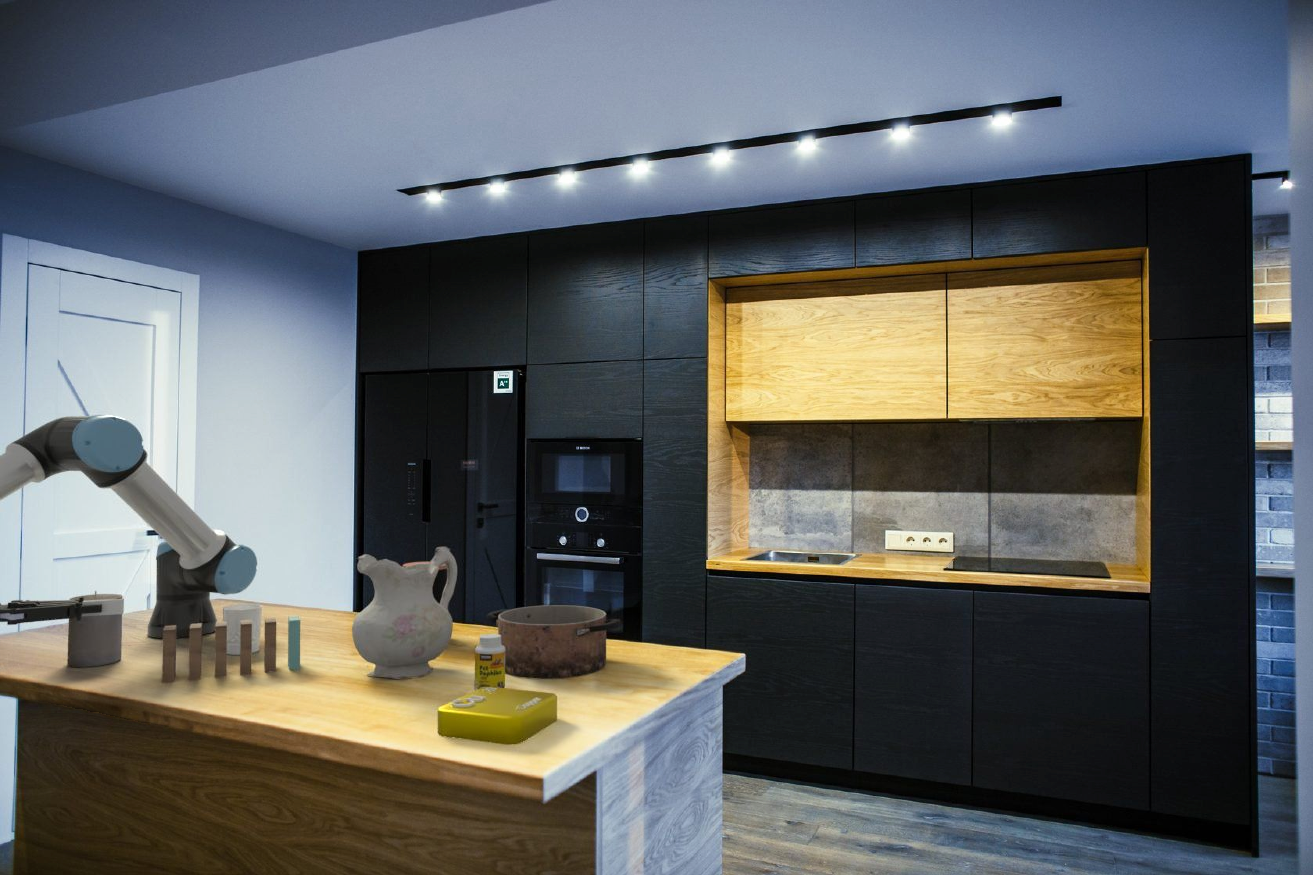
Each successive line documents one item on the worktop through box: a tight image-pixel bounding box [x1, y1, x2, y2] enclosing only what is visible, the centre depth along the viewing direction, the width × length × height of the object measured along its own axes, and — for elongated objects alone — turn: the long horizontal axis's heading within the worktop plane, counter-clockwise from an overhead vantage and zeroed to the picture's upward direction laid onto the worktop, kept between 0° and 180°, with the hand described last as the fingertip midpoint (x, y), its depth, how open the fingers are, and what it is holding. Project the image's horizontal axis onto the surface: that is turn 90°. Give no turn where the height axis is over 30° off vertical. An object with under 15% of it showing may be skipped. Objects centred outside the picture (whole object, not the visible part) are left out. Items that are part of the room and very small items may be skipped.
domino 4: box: [239, 620, 253, 676], centre depth 175 cm, size 5×2×10 cm, turn 26°
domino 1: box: [161, 625, 177, 684], centre depth 169 cm, size 5×2×10 cm, turn 26°
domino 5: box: [263, 617, 277, 673], centre depth 177 cm, size 5×2×10 cm, turn 26°
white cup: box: [222, 603, 263, 656], centre depth 193 cm, size 8×8×10 cm
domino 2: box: [188, 623, 203, 681], centre depth 171 cm, size 5×2×10 cm, turn 26°
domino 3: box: [214, 621, 228, 678], centre depth 173 cm, size 5×2×10 cm, turn 26°
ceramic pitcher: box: [351, 545, 458, 680], centre depth 176 cm, size 22×20×25 cm
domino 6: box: [287, 615, 301, 671], centre depth 179 cm, size 5×2×10 cm, turn 26°
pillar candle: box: [67, 590, 124, 668], centre depth 183 cm, size 10×10×15 cm
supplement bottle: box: [474, 633, 506, 691], centre depth 160 cm, size 6×6×10 cm
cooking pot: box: [486, 604, 622, 680], centre depth 180 cm, size 30×22×11 cm
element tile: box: [437, 687, 558, 745], centre depth 140 cm, size 15×15×5 cm
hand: (123, 606), depth 166 cm, fingers closed
